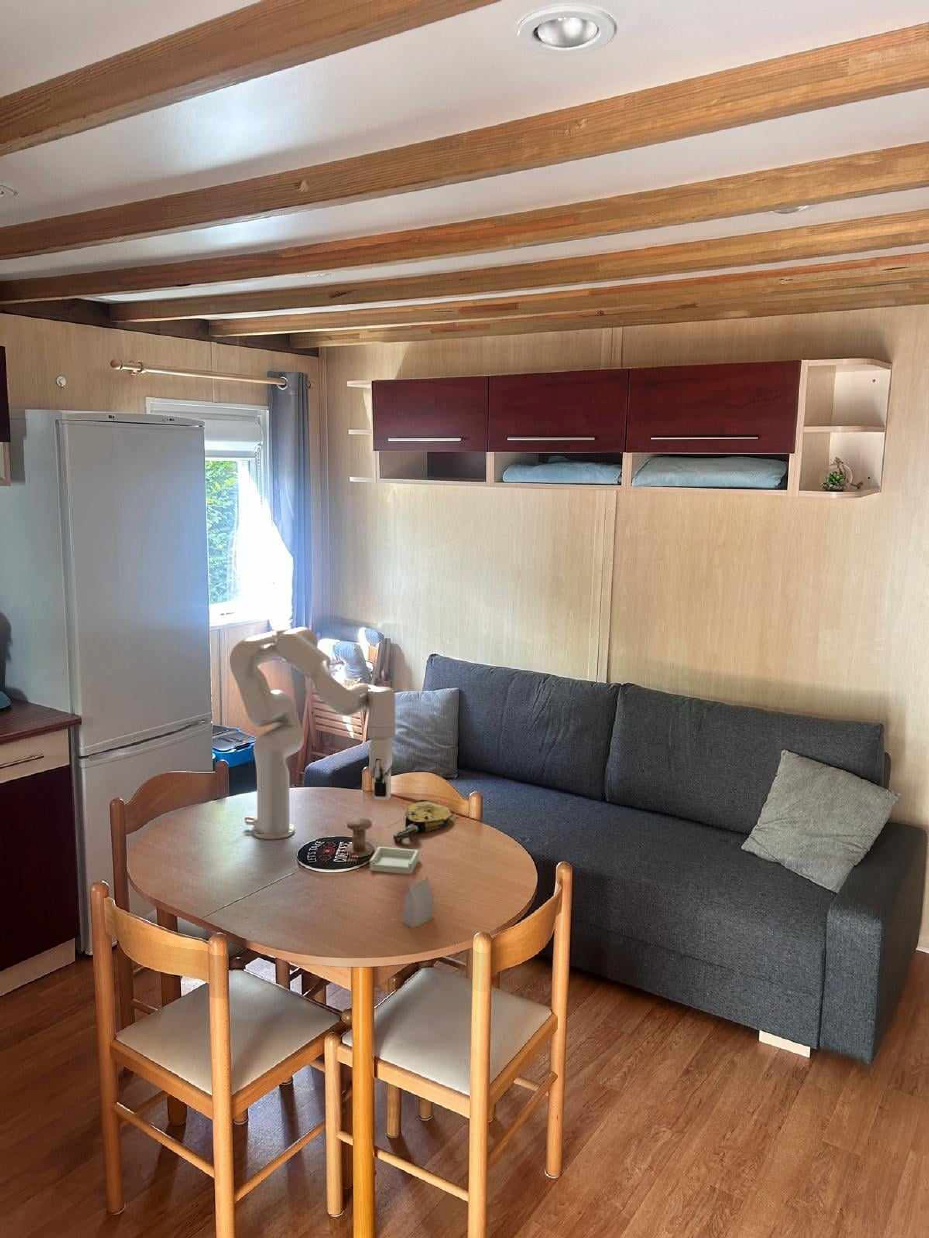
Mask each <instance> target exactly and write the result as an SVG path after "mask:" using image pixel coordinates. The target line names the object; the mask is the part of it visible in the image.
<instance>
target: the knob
mask: <svg viewBox="0 0 929 1238" xmlns="http://www.w3.org/2000/svg"><path fill="white" fill-rule="evenodd" d="M372 825H373V823H372V820H371V819H368V818H364V817H354V818H351V819H349V820H347V822H346V827H347V828H348V829H349V830H352V844H349V845H347V846H346V847H345V848H344V853H345V852H347V853H348V854H349V855H357V856H363V855H369V854H371V853H372V852H373V853H374V848H373V846H371V845H369V844H366V832H367V831H366V830H369V829H370V828H371V827H372Z"/></svg>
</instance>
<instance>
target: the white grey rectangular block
mask: <svg viewBox="0 0 929 1238" xmlns="http://www.w3.org/2000/svg"><path fill="white" fill-rule="evenodd" d="M382 771H383V770H380V772H382ZM372 773H373V799H374V800H380V801H381V800H382V801H388V800H389V799H390V797H391V796H392V767H390V768H389V769H388V771H387V772H386V773H385V783H386V796H385V797H379V796H375V777H374V775H375V770H374V771H373V772H372ZM382 775H383V774H380V776H382Z"/></svg>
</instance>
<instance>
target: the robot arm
mask: <svg viewBox="0 0 929 1238" xmlns="http://www.w3.org/2000/svg"><path fill="white" fill-rule="evenodd" d="M280 659H283V660H284V661H286V662H287V663H288V664H289V665H290V666H292V667H293V668H294V669H296V671H298V672H300V673H301V674H302V676H305V677H306V678H307V679H308V680H309V681H310V682H311V685H312V687H313V690H314V691H315V694H317V696H318V698H319V699H320V700H321V701H322V702H324V704H326V705H327V706H329V708H330V709H332V710H333V711H335V712H336V713H337V714H340V715H342V716H345V717H346V716H347V717H348V716H353V715H355V714H358V713H359V712H361V711H365V710H368V715H367V716H368V717H367V718H368V720H367V723H368V737H369V738H370V743H369V744H370V745H369V757H368V758H369V760H368V761H369V763H368V771H369V773H370V774H372V773H373V772H374V770H375V775H373V778H374V777H375V796H379V797H385V796H386V783H385V773H386V772H387V771H388V769H389V768H392V765H393V760H394V759H393V757H394V756H393V755H394V754H393V752H394V751H393V746H394V745H393V738H395V737H396V692H395V690H394V689H393V688H392V687H389V686H376V685H372V684H370V683H369V684H368V683H366V682H360V683H355V684H353V685H351V686H347V687H345V686H343V685H342V684H341V683H340V682H338V681H337V680H336V679H335V678H334V677H333V676H332V675H331V673H330V666H331V658H330V657H329V656H328V655H327V654H326V653H325V652H324V651H322V650H321V649H319V648H318V638H317V635H316V634H315V633H314V631H313V630H311V629H309V628H308V627H303V626H300V627H295V628H290V629H289V628H288V629H282V630H281V629H280V630H275V631H274V630H273V631H268V632H265V633H260V634H256V635H252V636H249V637H245V638H244V639H241V640H240V641H239V642H238V643H236V644H235V645H234V647H232V649H231V651H230V656H229V667H230V670H231V673H232V675H233V677H234V680H235V682H236V685H237V686H238V687H237V688H238V691H239V694H240V698H241V699H242V703H243V706H244V709H245V712H246V715H247V718H248V720H249V722H250V724H251V725H252V726H254V727H255V728H265V727H268V726H272V728H270V729H268V730H266V731H264V732H262V733H261V734H260V735H259V736H257V738H256V739H255V741H254V744H253V756H254V760H255V767H256V801H257V802H256V803H257V805H256V807H257V808H256V809H257V812H256V815H255V816H252V815H245V816H244V822H245V825H248V826H253V827H252V829H251V833H252V835H253V836H254V837H255V838H258V839H263V840H281V839H285V838H288V837H290V836H292V835H293V834H294V833H295V830H296V828H295V827H296V826H294V824H293V823H292V822H290V770H289V767H288V764H287V762H286V758H288V757H290V756H291V755H294V754H296V753H297V752H299V751H300V750H301V749H302V747H303V745H304V744H305V743H304V741H305V735H304V732H303V727H302V724H301V722H300V719H299V718H300V717H299V715H298V712H297V709H296V706H295V704H294V701H293V700H292V698H291V697H290V695H289V694H288V693H287V692H285V691H284V690H281V689H272V690H271V689H270V686H269V683H268V679H267V677H266V676H265V674H264V673H263V671H262V670H261V669H260V668H259V665H262V664H264V663H268V662H271V661H274V660H280ZM380 770H383V771H382V772H380ZM380 774H383V775H382V776H380Z"/></svg>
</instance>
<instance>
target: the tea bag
mask: <svg viewBox="0 0 929 1238" xmlns="http://www.w3.org/2000/svg"><path fill="white" fill-rule="evenodd" d="M433 907H434V894H433V891H432V888H431V884H430V881H429V878H428V877H425V878H423V879H420V880H417V882H416V881H415V882H413V883H411V884H410V885H408V886H407V891H406V892H405V895H404V898H403V900H402V923H403V924H404V925H407V926H410V927H412V928H416V927H418V926H420V925H421V924H424V923H426V922H427V921H429V920H432V919H433V916H434V915H433V912H434V909H433Z"/></svg>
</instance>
